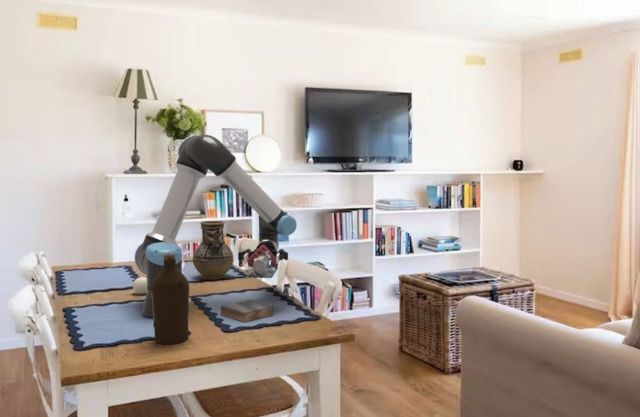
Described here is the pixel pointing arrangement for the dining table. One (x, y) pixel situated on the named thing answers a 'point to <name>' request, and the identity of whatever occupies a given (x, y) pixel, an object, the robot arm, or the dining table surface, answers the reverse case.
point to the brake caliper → (261, 264)
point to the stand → (246, 310)
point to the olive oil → (170, 303)
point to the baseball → (140, 285)
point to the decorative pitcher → (212, 252)
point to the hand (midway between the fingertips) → (261, 259)
